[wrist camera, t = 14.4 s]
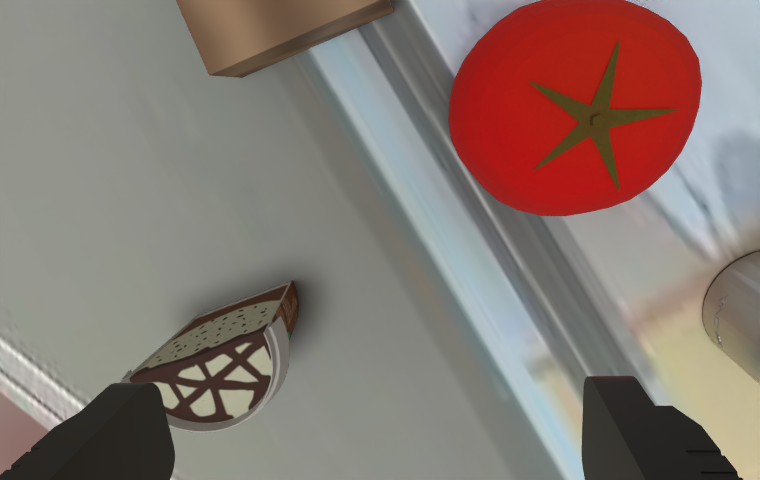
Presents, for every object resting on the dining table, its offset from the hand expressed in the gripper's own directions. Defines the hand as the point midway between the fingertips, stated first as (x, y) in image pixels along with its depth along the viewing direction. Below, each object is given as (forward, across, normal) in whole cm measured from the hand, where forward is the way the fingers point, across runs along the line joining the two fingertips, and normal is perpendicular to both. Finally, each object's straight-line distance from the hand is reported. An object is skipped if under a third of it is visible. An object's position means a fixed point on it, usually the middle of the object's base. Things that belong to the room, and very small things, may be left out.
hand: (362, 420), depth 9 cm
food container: (+30, +14, +13) cm, 35 cm away
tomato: (+30, -9, -4) cm, 32 cm away
